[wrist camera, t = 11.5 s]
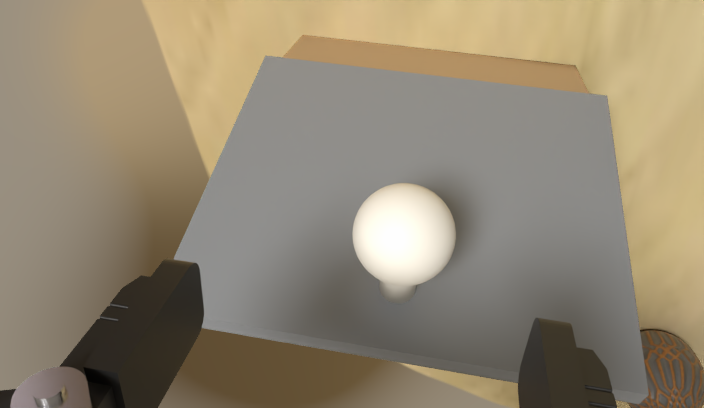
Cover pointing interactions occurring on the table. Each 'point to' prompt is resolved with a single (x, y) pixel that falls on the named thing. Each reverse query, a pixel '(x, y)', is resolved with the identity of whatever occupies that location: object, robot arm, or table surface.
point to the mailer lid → (418, 221)
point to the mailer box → (438, 63)
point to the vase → (670, 372)
